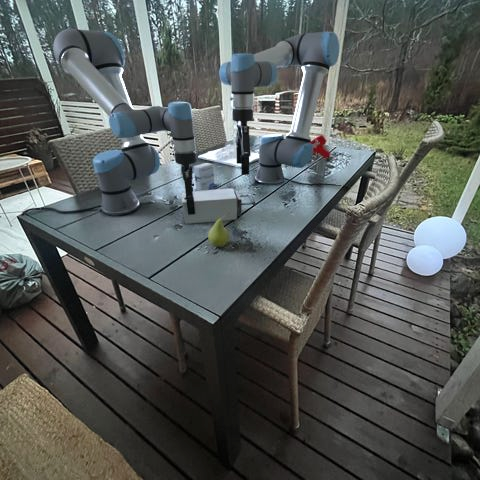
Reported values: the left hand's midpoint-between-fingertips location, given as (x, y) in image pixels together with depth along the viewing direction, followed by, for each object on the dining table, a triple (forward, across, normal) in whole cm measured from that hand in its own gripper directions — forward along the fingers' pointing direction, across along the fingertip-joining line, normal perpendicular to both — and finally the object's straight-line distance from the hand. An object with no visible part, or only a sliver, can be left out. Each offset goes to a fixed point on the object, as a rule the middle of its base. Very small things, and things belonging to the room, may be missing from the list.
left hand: (191, 207), depth 108 cm
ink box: (+4, -30, +7) cm, 31 cm away
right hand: (-14, -2, +21) cm, 25 cm away
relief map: (+4, -81, +28) cm, 86 cm away
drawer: (+3, 0, +13) cm, 13 cm away
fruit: (+4, +22, +9) cm, 24 cm away
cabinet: (+4, 0, +7) cm, 8 cm away
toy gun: (+4, -69, +80) cm, 106 cm away
